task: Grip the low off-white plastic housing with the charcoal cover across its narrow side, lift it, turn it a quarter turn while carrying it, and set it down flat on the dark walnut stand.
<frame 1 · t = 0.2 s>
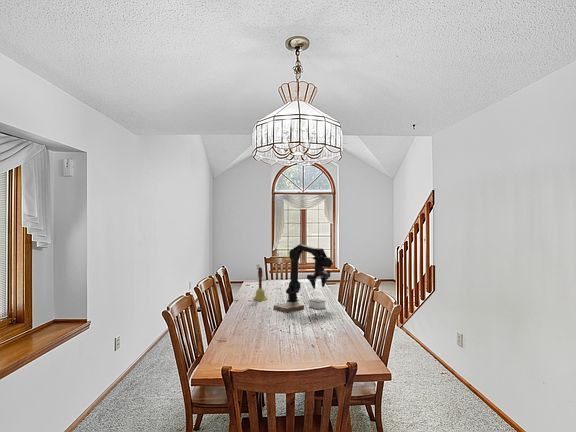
hand: (318, 288, 279), 14 cm above the table, fingers open, 9 cm apart
handbell: (260, 299, 306), on the table
housing: (317, 307, 280), on the table
walnut stand: (288, 308, 274), on the table
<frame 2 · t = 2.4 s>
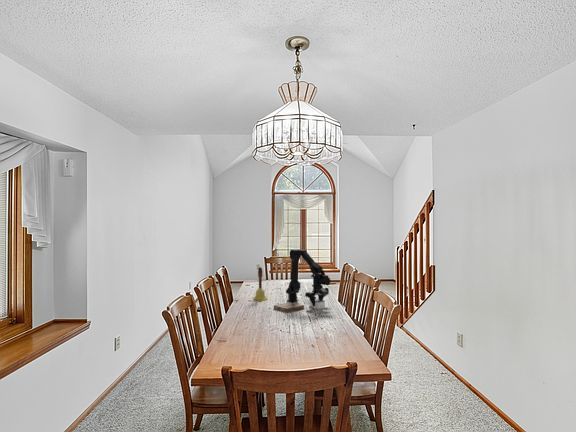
hand: (317, 305, 280), 1 cm above the table, fingers closed on housing, 6 cm apart
housing: (317, 307, 280), on the table, touching gripper
everything else where it was.
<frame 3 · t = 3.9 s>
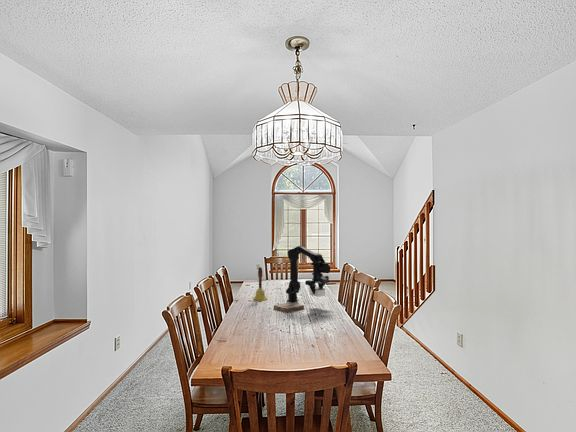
hand: (317, 293, 280), 9 cm above the table, fingers closed on housing, 6 cm apart
housing: (317, 295, 280), point 8 cm above the table, touching gripper
everything else where it was.
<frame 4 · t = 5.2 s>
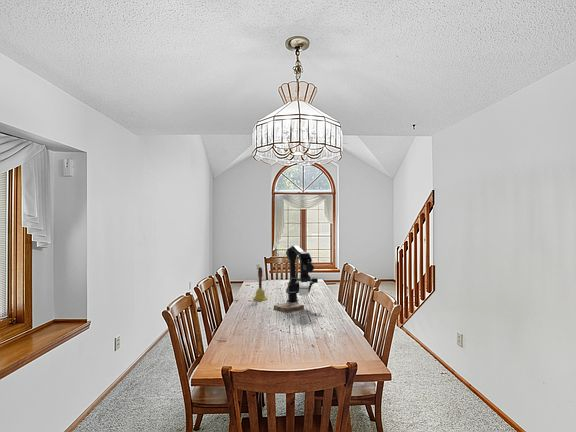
hand: (304, 292, 277), 11 cm above the table, fingers closed on housing, 6 cm apart
housing: (304, 293, 277), point 10 cm above the table, touching gripper
everything else where it was.
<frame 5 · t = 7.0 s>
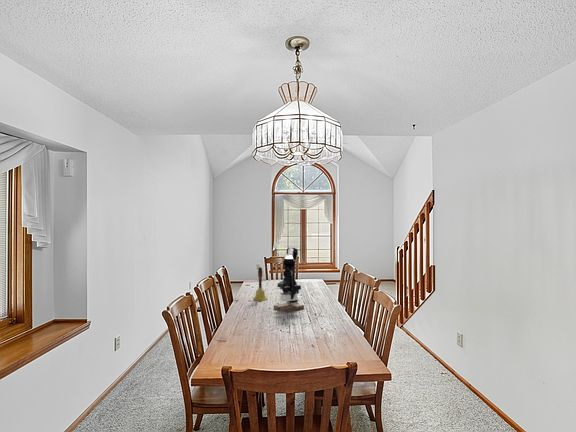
hand: (288, 298, 274), 7 cm above the table, fingers closed on housing, 6 cm apart
housing: (288, 300, 274), point 6 cm above the table, touching gripper
everything else where it was.
when the fingers open (5 cm above the table, at t = 8.3 s): housing drops 1 cm, resting on walnut stand.
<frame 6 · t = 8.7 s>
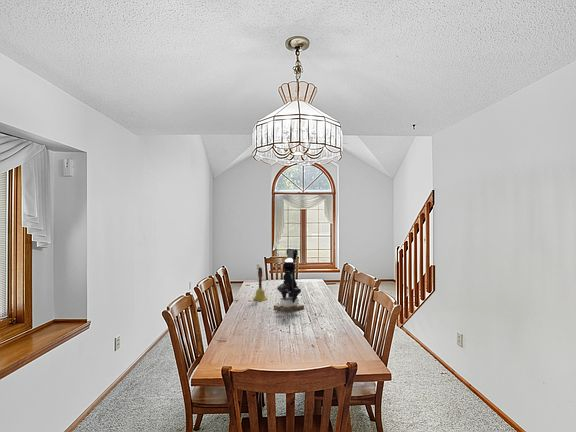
hand: (288, 301, 274), 5 cm above the table, fingers open, 9 cm apart
housing: (288, 305, 274), point 2 cm above the table, touching walnut stand
everything else where it was.
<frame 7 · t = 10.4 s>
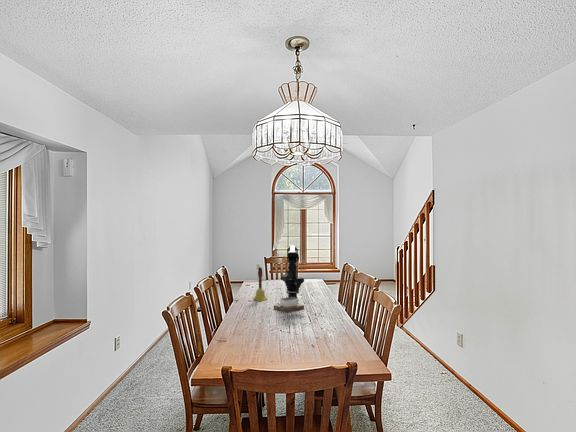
hand: (292, 290, 280), 12 cm above the table, fingers open, 9 cm apart
nothing on the table moved.
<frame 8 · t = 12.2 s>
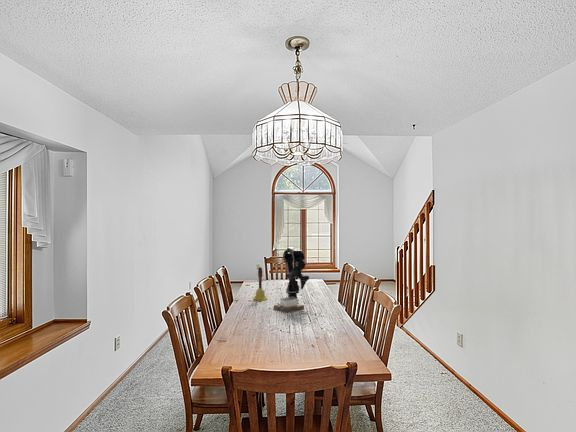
hand: (297, 288, 287), 12 cm above the table, fingers open, 9 cm apart
nothing on the table moved.
at the end: housing 0.0 cm off-centre on the walnut stand, point 2.5 cm above the walnut stand's base; housing tilted 0°; the gripper is holding nothing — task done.
